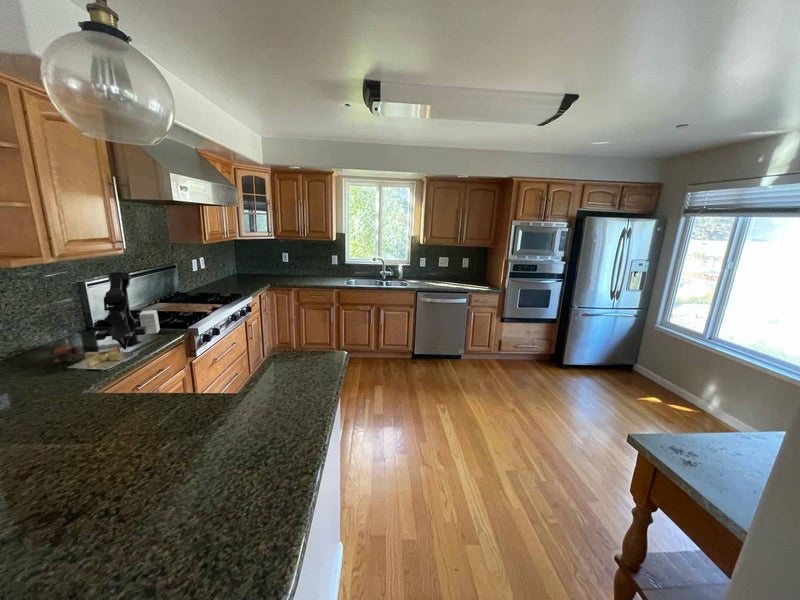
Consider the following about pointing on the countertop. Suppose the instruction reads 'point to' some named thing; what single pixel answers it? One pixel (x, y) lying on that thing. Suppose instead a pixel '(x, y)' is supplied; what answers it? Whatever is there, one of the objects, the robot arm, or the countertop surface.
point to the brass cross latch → (102, 356)
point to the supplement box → (150, 321)
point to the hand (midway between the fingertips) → (125, 349)
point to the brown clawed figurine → (64, 352)
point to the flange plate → (105, 362)
